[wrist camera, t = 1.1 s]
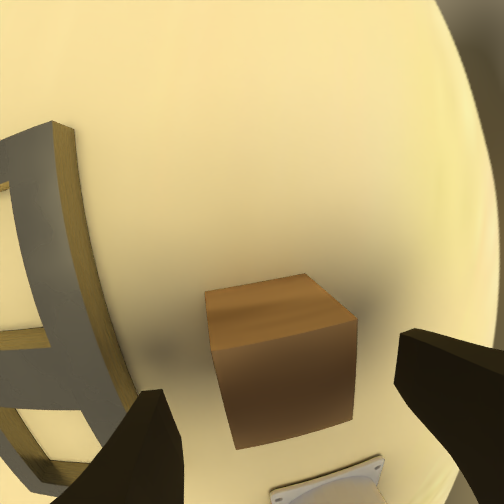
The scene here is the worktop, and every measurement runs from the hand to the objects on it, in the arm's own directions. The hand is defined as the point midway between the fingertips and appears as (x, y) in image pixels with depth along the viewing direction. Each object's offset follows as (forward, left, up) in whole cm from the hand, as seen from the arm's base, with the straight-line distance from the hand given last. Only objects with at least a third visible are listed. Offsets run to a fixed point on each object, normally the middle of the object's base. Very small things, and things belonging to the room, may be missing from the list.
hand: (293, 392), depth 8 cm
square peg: (0, 0, -5) cm, 5 cm away
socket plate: (0, +11, -4) cm, 12 cm away
